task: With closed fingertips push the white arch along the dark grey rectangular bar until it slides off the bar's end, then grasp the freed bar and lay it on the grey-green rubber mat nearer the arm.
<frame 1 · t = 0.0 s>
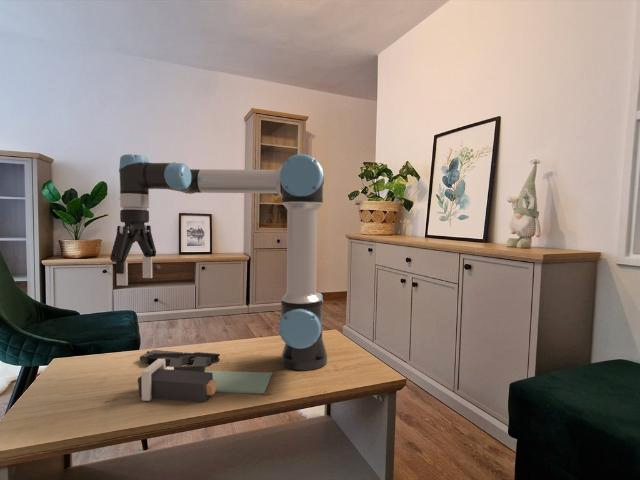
hand: (135, 281, 107), 28 cm above the table, fingers open, 13 cm apart
pistol: (173, 365, 114), on the table, touching mat
dark grey rectangular bar: (177, 393, 96), on the table, tilted 9°, touching mat
white arch: (158, 374, 98), point 4 cm above the table, slide at 0.0 cm
mat: (223, 382, 103), on the table
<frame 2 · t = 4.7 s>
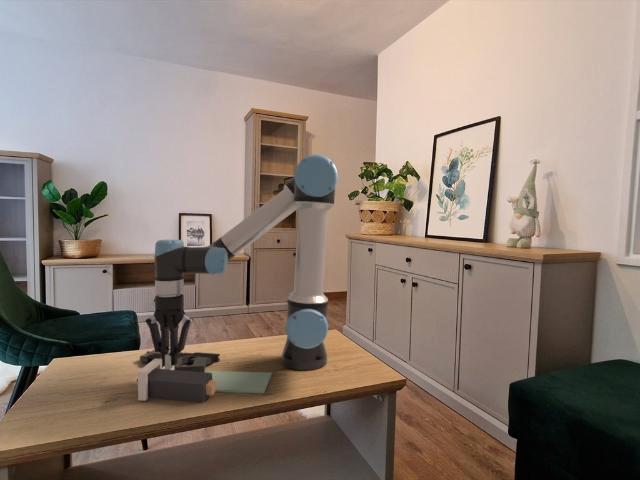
hand: (169, 375, 103), 2 cm above the table, fingers closed
white arch: (155, 374, 98), point 4 cm above the table, slide at 1.0 cm, touching gripper
everything else where it was.
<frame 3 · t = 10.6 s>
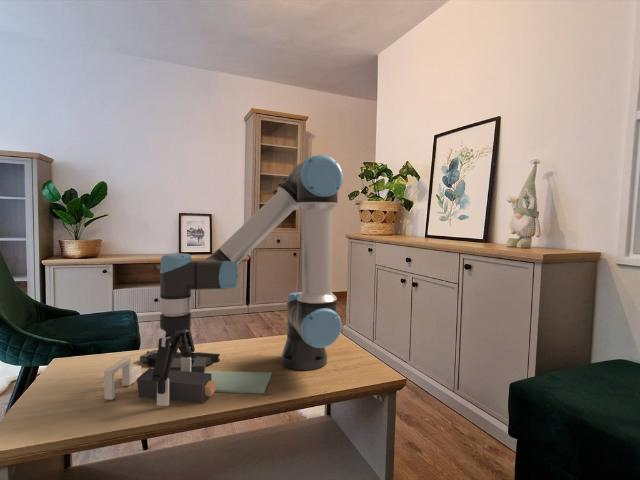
hand: (175, 392, 96), 1 cm above the table, fingers open, 13 cm apart
white arch: (124, 373, 99), point 4 cm above the table, slide at 9.7 cm
everything else where it was.
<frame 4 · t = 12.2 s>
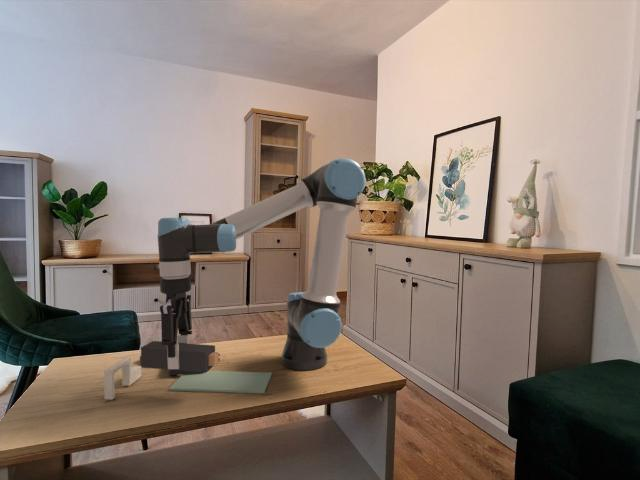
hand: (178, 363, 96), 8 cm above the table, fingers closed on dark grey rectangular bar, 5 cm apart
dark grey rectangular bar: (178, 365, 96), point 8 cm above the table, touching gripper
everything else where it was.
when the fingers open (1 cm above the table, at t = 17.4 s): dark grey rectangular bar stays where it is, resting on mat.
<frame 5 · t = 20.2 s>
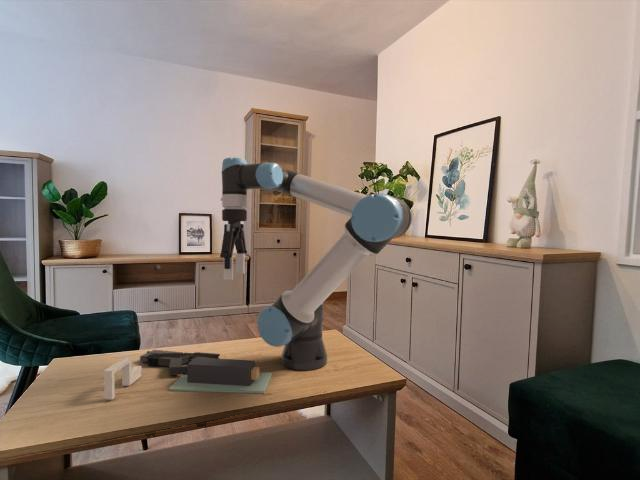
hand: (234, 276, 114), 29 cm above the table, fingers open, 13 cm apart
dark grey rectangular bar: (221, 380, 103), point 1 cm above the table, touching mat
everything else where it was.
at the end: white arch slide at 9.7 cm; dark grey rectangular bar inside the target area on the mat (0.4 cm from its centre), point 0.6 cm above the mat's base; the gripper is holding nothing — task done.
